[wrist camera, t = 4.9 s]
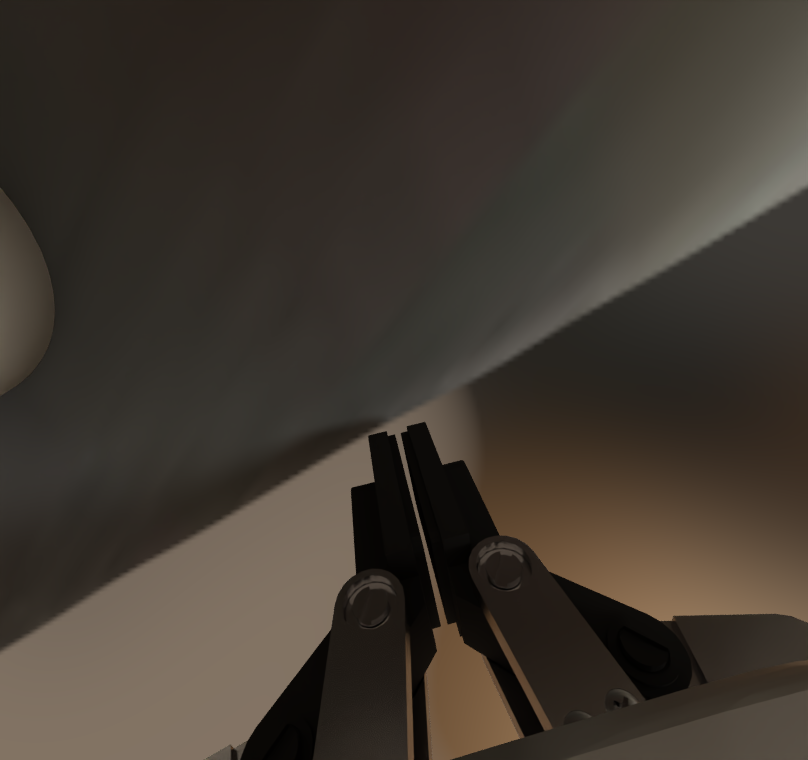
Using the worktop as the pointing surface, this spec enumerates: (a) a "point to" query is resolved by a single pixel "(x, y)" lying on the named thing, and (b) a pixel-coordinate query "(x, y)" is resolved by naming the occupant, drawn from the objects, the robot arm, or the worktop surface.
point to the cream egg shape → (22, 299)
